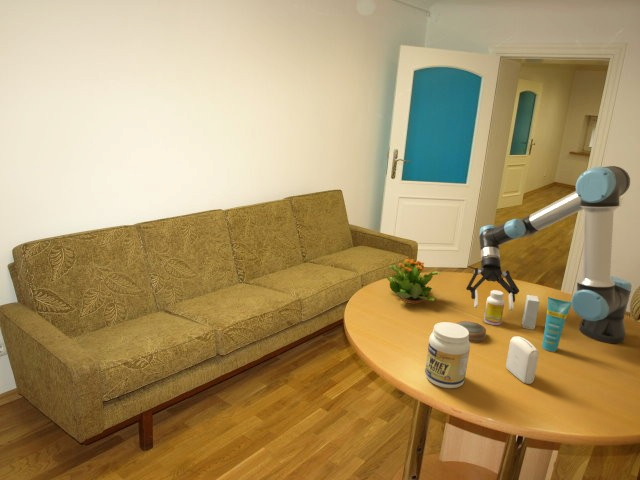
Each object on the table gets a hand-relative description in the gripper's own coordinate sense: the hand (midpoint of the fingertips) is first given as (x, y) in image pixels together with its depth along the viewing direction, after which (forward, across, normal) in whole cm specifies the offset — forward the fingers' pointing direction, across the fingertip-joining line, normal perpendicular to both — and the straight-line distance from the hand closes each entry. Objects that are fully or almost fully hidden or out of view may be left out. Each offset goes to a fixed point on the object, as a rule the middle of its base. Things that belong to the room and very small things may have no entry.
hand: (493, 308), depth 183 cm
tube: (+17, -16, +8) cm, 25 cm away
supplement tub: (+36, +25, +27) cm, 52 cm away
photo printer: (+32, 0, +23) cm, 39 cm away
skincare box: (+5, -14, -4) cm, 15 cm away
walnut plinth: (+14, +11, +5) cm, 18 cm away
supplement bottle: (+4, 0, -5) cm, 7 cm away
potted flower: (-7, +30, -16) cm, 35 cm away
